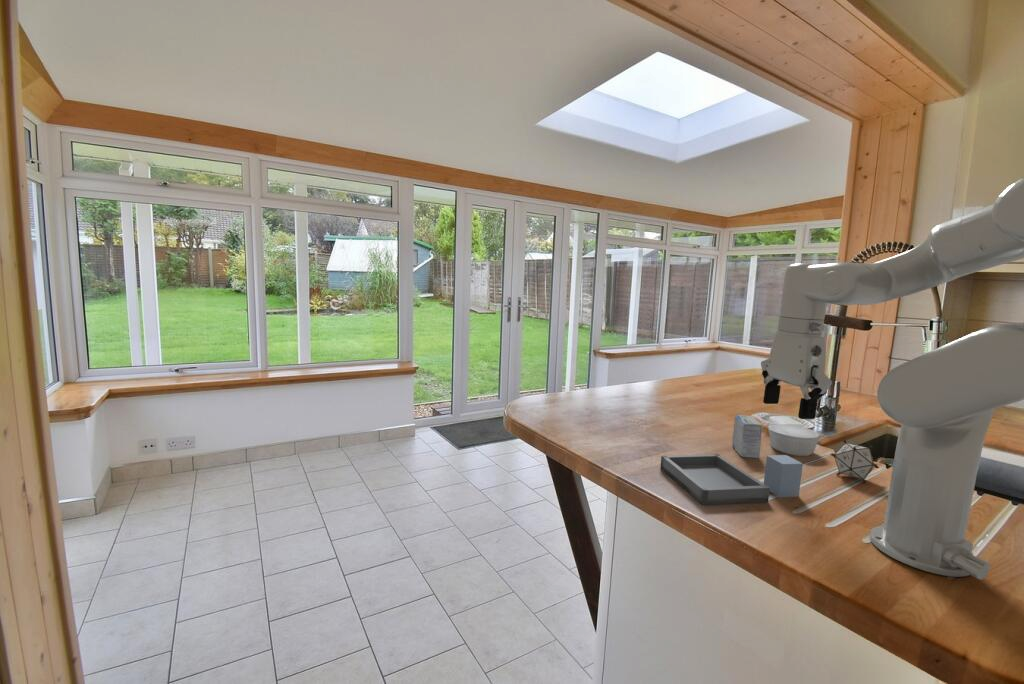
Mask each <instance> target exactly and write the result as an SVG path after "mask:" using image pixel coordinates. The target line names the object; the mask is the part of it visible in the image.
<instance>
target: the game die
mask: <svg viewBox="0 0 1024 684" xmlns="http://www.w3.org/2000/svg"><path fill="white" fill-rule="evenodd" d="M842 442H843V443H844V444H842V446H840V448H839V449H838V450H837V451H836V452H835V453H829V454H830V456H831V457H833V458H834V460H835V464H836V468H837V470H838V473H836V477H838V476H841V475H845V476H848V477H852V478H855V479H856V478H857V479H860V480H862V482H863V483H864V482H865V483H866V484H867V480H866V478H867V477H868V476H869V474H870V473H871V472H872V471H873V470H874V469H880V467H879V466H878V464H877V463H875V461H874V457H873V455H872V451H871V449H873V448H874V447H873V445H869V446H868V447H866V446H862V445H857V444H854V443H849V442H847V440H846V439H842ZM865 483H864V484H865Z"/></svg>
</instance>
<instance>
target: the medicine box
mask: <svg viewBox="0 0 1024 684" xmlns="http://www.w3.org/2000/svg"><path fill="white" fill-rule="evenodd" d="M732 434H733V435H732V441H731V442H732V445H731V446H732V448H733V449H735V451H736V452H737V454H739V456H740V457H742V458H748V459H751V458H752V459H760V456H761V455H760V453H761V445H762V436H763V435H762V434H763V424H762V423H760V421H759V420H758V419H756V418H755V417H754V416H752V415H742V414H737V415H735V416H734V423H733V433H732Z"/></svg>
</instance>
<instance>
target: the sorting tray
mask: <svg viewBox="0 0 1024 684" xmlns="http://www.w3.org/2000/svg"><path fill="white" fill-rule="evenodd" d="M660 470H661V471H663V472H664V474H666V475H667V476H668V477H670V478H671V479H672V480H673V481H674V482H675V483H677V484H678V486H680V487H681V488H682V489H683V490H685V491H686V493H688V494H689V495H690V496H691V497H692V498H694V499H695V500H696V501H697V502H698V503H699V504H700V505H701V506H713V505H735V504H752V503H753V504H757V503H768V502H769V500H770V499H769V497H770V487H768V486H767V485H765V484H764V482H762V481H760V480H758V478H755V477H754V476H753V475H752V474H750V473H748V472H746V471H745V470H743V469H742V468H740V467H738V466H737V465H735V464H734V463H733V462H731V461H730V460H727V459H726V458H724V457H723V456H721V455H720V454H718V453H717V454H716V453H715V454H684V455H683V454H681V455H679V454H678V455H677V454H675V455H661V459H660Z"/></svg>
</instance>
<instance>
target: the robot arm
mask: <svg viewBox="0 0 1024 684" xmlns="http://www.w3.org/2000/svg"><path fill="white" fill-rule="evenodd" d="M1022 259H1024V177H1022V178H1020V179H1019V180H1017V181H1015V182H1014V183H1012V184H1011V185H1009V186H1007V187H1006V189H1004V190H1003V191H1002V193H1000V194H999V195H998V196H997V198H996V200H995V202H994V203H993V204H989V205H987V206H985V207H982V208H979V209H977V210H973V211H971V212H969V213H965V214H963V215H961V216H958V217H956V218H952V219H950V220H947V221H944V222H942V223H940V224H937V225H936V226H935V227H933V228H932V229H931V230H930V232H929V233H928V235H927V237H926V239H925V240H924V241H922V243H920V244H919V245H917V246H915V247H913V248H912V249H910V250H907V251H905V252H902V253H900V254H899V253H898V254H896V255H894V256H891V257H888V258H885V259H882V260H879V261H876V262H871V263H863V262H850V261H849V262H848V261H843V262H842V261H841V262H838V261H837V262H831V263H824V264H823V263H813V262H812V263H810V262H807V263H806V262H805V263H803V262H802V263H801V262H800V263H799V262H798V263H792V264H788V266H787V268H786V269H785V272H784V279H783V287H782V293H781V299H780V300H781V301H780V308H779V315H778V322H777V329H776V332H775V334H774V337H773V340H772V343H771V349H770V353H769V358H767V359H764V360H762V361H761V362H760V366H761V370H762V373H761V376H762V377H763V384H764V386H765V387H764V393H763V401H762V403H763V404H765V405H778V404H779V402H780V401H779V400H780V394H781V389H782V388H781V387H782V386H781V385H780V383H781V382H783V383H786V384H789V385H792V386H795V387H799V388H800V391H801V393H802V396H803V397H801V398H800V401H799V408H798V419H801V420H814V419H815V418H816V414H817V409H818V408H817V407H818V401H819V400H822V398H823V396H824V395H825V396H826V394H827V393H828V390H829V389H830V387H831V386H832V384H833V381H832V380H831V379H830V377H828V375H826V373H825V372H826V360H827V359H826V357H827V354H826V353H827V346H826V339H825V338H826V337H825V336H823V332H824V331H825V329H826V327H825V325H824V323H825V318H826V317H825V316H826V311H827V305H828V304H831V305H836V306H837V305H838V306H854V305H855V306H872V305H877V304H882V303H886V302H889V301H892V300H896V299H900V298H903V297H907V296H910V295H914V294H917V293H920V292H923V291H928V290H929V289H931V288H932V289H933V288H935V287H938V286H940V285H942V284H945V283H949V282H952V281H954V280H956V279H958V278H961V277H964V276H967V275H970V274H974V273H976V272H977V273H978V272H980V271H984V270H987V269H992V268H994V267H997V266H1001V265H1005V264H1008V263H1013V262H1016V261H1018V260H1022ZM809 389H810V390H809ZM876 393H877V395H876V397H877V401H878V405H879V407H880V408H881V410H882V411H883V412H884V414H886V415H887V416H888V418H890V419H891V420H893V421H894V422H896V423H898V424H901V427H900V428H899V429H900V430H899V433H898V437H897V440H896V441H897V443H896V446H895V447H896V448H895V451H894V458H893V463H892V464H893V465H892V471H891V477H890V484H889V489H888V490H889V491H888V496H887V502H886V503H887V504H886V510H885V516H884V521H883V525H878V526H874V527H873V528H871V530H870V533H869V538H870V541H871V543H872V544H873V545H874V546H875V548H877V549H879V551H881V552H882V553H884V554H886V556H888V557H890V558H892V559H893V560H896V561H898V562H899V563H900V562H901V563H902V564H904V565H907V566H909V567H912V568H915V569H917V570H921V571H924V572H927V573H931V574H936V575H940V576H944V577H945V576H946V577H953V578H955V577H956V578H957V577H959V578H963V577H968V576H972V577H974V578H976V579H978V580H982V581H983V580H984V579H985V578H987V576H988V574H989V571H990V570H991V568H992V564H991V563H990V562H988V561H986V560H984V559H983V558H980V557H979V556H976V555H974V553H973V546H974V543H973V542H971V541H970V540H968V539H966V535H967V530H968V526H969V525H968V524H969V519H970V514H971V510H972V509H971V507H972V502H973V497H974V492H975V487H976V486H975V485H976V480H977V474H978V471H979V467H980V461H981V458H982V457H981V456H982V451H983V447H984V443H985V440H986V436H987V432H988V430H989V427H990V425H991V421H992V418H993V415H994V413H995V410H996V409H999V408H1003V407H1005V406H1008V405H1012V404H1016V403H1017V402H1021V401H1024V322H1009V323H1001V324H996V325H992V326H988V327H986V328H983V329H980V330H977V331H974V332H971V333H969V334H966V335H965V336H962V337H961V338H958V339H955V340H953V341H951V342H948V343H946V344H944V345H942V346H939V347H937V348H935V349H933V350H930V351H928V352H926V353H924V354H921V355H919V356H917V357H914V358H912V359H910V360H907V361H905V362H903V363H902V364H899V365H897V366H894V368H892V369H890V370H889V371H887V373H886V374H885V375H884V376H883V377H882V378H881V380H880V382H879V384H878V386H877V392H876Z"/></svg>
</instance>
